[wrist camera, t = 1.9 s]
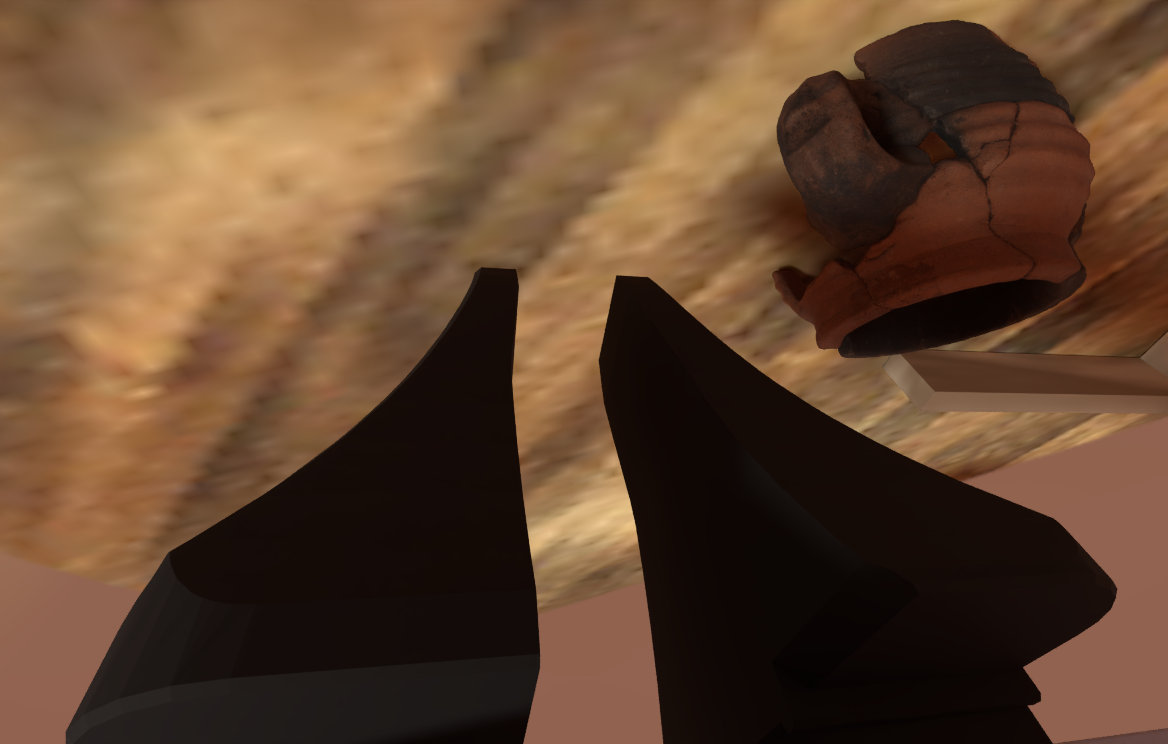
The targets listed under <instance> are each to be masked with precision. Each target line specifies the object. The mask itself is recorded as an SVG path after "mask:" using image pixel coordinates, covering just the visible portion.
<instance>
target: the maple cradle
mask: <svg viewBox="0 0 1168 744" xmlns="http://www.w3.org/2000/svg"><path fill="white" fill-rule="evenodd" d="M883 369H884V370H885V371H886V372H887V373H888V374H889V376H890V377H891V378H892V379H893V380H894V381H895V383H896V384H897V385H898V386H899V387H900V389H901V390H902V391H903V392H904V393H905V394H906V396H907V397H908V398H909V399H910V400H911V401H912V403H913V404H914V405H915V406H916V407H917V409H918V410H919V411H952V412H1047V413H1142V414H1168V332H1167V333H1166V334H1165V335H1164V336H1163V337H1162V338H1161V339H1159V340H1158V341H1157V342H1156V343H1155V344H1154V345H1153V346H1152V347H1151V348H1150V349H1149V350H1148V351H1147V352H1146V353H1145V354H1144V355H1142V356H1141V357H1140V358H1129V357H1102V356H1074V355H1046V354H1019V353H991V352H963V351H936V350H920V351H915V352H910V353H904V354H898V355H891V357H890V358H889V360H888V361H887V363H886V364H885V366H884V367H883Z"/></svg>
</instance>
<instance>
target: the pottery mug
mask: <svg viewBox="0 0 1168 744" xmlns="http://www.w3.org/2000/svg"><path fill="white" fill-rule="evenodd" d="M854 61H855V64H856V66H857V68H858V69H860V70H861V71H862V72H864V76H865V79H858V80H848V79H846V78H845V77H844V76H843V75H842V74H841V73H840V72H838V71H830V72H827V73H824V74H821V75H818V76H813V77H810V78H808V79H806V80H805V81H804V82H803V83H802V84H801V85H800V87H799V88H798V89H797V90H796V91H795V92H794V93H793V94H791V95H790V96H789V97H788V98H787V100H786V101H785V103H784V105H783V108H782V111H781V114H780V117H779V119H778V124H777V140H778V144H779V147H780V152H781V154H782V157H783V161H784V165H785V167H786V169H787V172H788V173H789V176H790V178H791V180H792V181H793V183H794V185H795V186H796V188H797V189H798V191H799V192H800V194H801V195H802V199H803V202H804V205H805V208H806V210H807V219H808V221H809V223H810V225H811V226H812V227H813V228H814V229H816V230H817V231H818V232H819V233H820V234H821V235H823V236H824V237H825V239H826V240H827V241H828V242H829V243H830V244H831V245H833V246H835V247H838V248H840V249H854V248H858V247H860V246H863V245H865V244H868V249H867V251H866V253H865V254H864V255H863V256H862V257H861V258H860V259H859V260H858V262H857V263H856V264H854V265H852V264H850V263H849V262H847V261H845V260H844V259H842V258H839V257H836V258H833V259H832V260H830V261H829V262H828V263H827V264H826V265H825V267H824V268H823V270H822V271H821V272H820V274H819V275H818V276H817V277H816V279H814V280H813V281H812V283H811V284H810V285H809V286H808V287H807V288H806V287H805V285H804V284H803V282H802V281H801V279H800V277H799V276H798V274H796V273H795V272H793V271H787V270H780V271H774V272H773V273H772V276H773V278H774V280H775V288H776V289H777V290H778V291H779V292H780V293H781V295H782V297H783V301H784V302H785V303H786V304H787V305H789V306H790V307H791V308H792V309H793V311H794V312H795V313H796V314H798V315H799V316H800V317H802V318H804V319H805V320H806V321H808V322H811V323H812V324H814V325H815V329H816V343H817V345H818V347H819V348H820V349H824V350H825V349H837V348H838V351H839V353H840V355H841V356H842V357H845V358H867V357H880V356H887V355H898V354H904V353H910V352H915V351H920V350H924V349H929V348H934V347H938V346H942V345H947V344H951V343H955V342H959V341H963V340H966V339H969V338H972V337H976V336H980V335H982V334H985V333H988V332H991V331H995V330H998V329H1002V328H1004V327H1007V326H1009V325H1012V324H1015V323H1018V322H1020V321H1022V320H1025V319H1027V318H1029V317H1033V316H1035V315H1037V314H1039V313H1041V312H1043V311H1046V310H1048V309H1050V308H1052V307H1054V306H1055V305H1057V304H1059V303H1060V302H1061V301H1063V300H1065V299H1067V298H1068V297H1070V296H1071V295H1072V294H1073V293H1074V292H1075V291H1076V290H1077V289H1078V288H1079V287H1081V285H1082V284H1083V283H1084V281H1085V279H1086V269H1085V267H1084V266H1083V264H1082V263H1081V261H1080V260H1079V258H1078V256H1077V254H1076V252H1075V250H1074V248H1073V245H1074V243H1075V242H1076V241H1077V239H1078V238H1079V237H1080V236H1081V234H1082V226H1083V223H1084V218H1085V208H1086V206H1087V204H1086V202H1087V200H1088V198H1089V195H1090V184H1091V182H1092V180H1093V178H1094V175H1095V170H1094V167H1093V164H1092V162H1091V161H1090V155H1089V154H1090V144H1089V142H1088V141H1087V139H1086V138H1085V137H1084V136H1083V135H1082V134H1081V133H1079V132H1078V131H1077V130H1076V128H1075V126H1074V125H1073V123H1074V121H1075V117H1074V116H1073V115H1072V114H1071V113H1070V111H1069V105H1068V102H1067V101H1066V99H1065V98H1064V97H1063V96H1061V95H1059V94H1057V92H1056V89H1055V86H1054V85H1053V83H1052V82H1051V81H1050V80H1048V79H1046V78H1044V77H1042V76H1041V74H1040V71H1039V69H1038V67H1037V65H1036V64H1035V63H1034V62H1033V61H1031V60H1029V59H1028V57H1027V56H1026V55H1025V54H1023V53H1021V52H1018V51H1016V50H1015V49H1013V48H1010V47H1009V46H1008V45H1006V44H1005V43H1004V42H1003V41H1002V40H1001V39H1000V38H999V36H997V35H996V34H995V33H994V32H992V31H991V30H988V29H987V28H986V27H985V26H983V25H980V24H976V23H971V22H964V21H959V20H951V21H944V22H929V23H923V24H920V25H915V26H910V27H908V28H905V29H902V30H900V31H898V32H896V33H895V34H892V35H888V36H886V37H884V38H881V39H879V40H877V41H875V42H873V43H871V44H869V45H867V46H865V47H863V48H862V49H860V50H858V51H857V52H856V53H855V56H854ZM930 132H936V133H937V134H938V136H939V137H940V138H941V139H943V140H944V141H945V142H946V143H947V145H948V146H949V147H950V148H952V149H953V150H954V151H955V153H956V154H957V158H954V159H943V160H941V161H939V162H937V163H935V164H932V163H931V160H930V157H929V155H928V154H927V153H926V152H925V151H923V150H922V149H920V148H917V147H918V146H919V145H920V143H921V142H922V141H923V139H924V138H926V137H927V135H928V134H929V133H930Z"/></svg>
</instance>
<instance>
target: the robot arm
mask: <svg viewBox="0 0 1168 744" xmlns="http://www.w3.org/2000/svg"><path fill="white" fill-rule="evenodd" d="M518 292H519V284H518V277H517V272H516V269H501V268H484V267H481V268H480V269H479V270H478V271H476V272H475V274H474V278H473V281H472V283H471V285H470V288H469V290H468V292H467V294H466V295H465V297H464V299H463V301H462V303H461V305H460V306H459V308H458V309H457V311H456V312H455V314H454V316H453V317H452V319H451V320H450V322H449V323H448V325H447V326H446V328H445V329H444V331H443V332H442V334H441V335H440V336H439V338H438V339H437V340H436V341H435V343H434V344H433V345H432V346H431V348H430V349H429V350H428V352H427V353H426V354H425V355H424V357H423V358H422V359H421V361H420V362H419V363H418V364H417V365H416V366H415V368H414V369H413V370H412V371H411V372H410V373H409V374H408V375H407V376H406V378H405V379H404V380H403V381H402V382H401V383H400V384H399V385H398V386H397V387H396V388H395V389H394V390H393V391H392V392H391V393H390V394H389V395H388V396H387V397H386V398H385V399H384V400H383V401H382V402H381V403H380V404H379V405H378V406H376V407H375V408H374V409H373V410H372V411H371V412H370V413H369V414H368V415H367V416H365V417H364V418H363V419H362V420H361V421H360V422H359V423H358V424H357V425H356V426H354V427H353V428H352V429H351V430H350V431H348V432H347V433H346V434H345V435H344V436H342V437H341V438H340V439H339V440H338V441H336V442H335V443H334V444H332V445H331V446H330V447H328V448H327V449H326V450H324V451H323V452H322V453H320V454H319V455H318V456H316V457H315V458H314V459H312V460H311V461H310V462H308V463H307V464H306V465H304V466H303V467H302V468H300V469H299V470H297V471H296V472H295V473H293V474H292V475H291V476H289V477H288V478H287V479H285V480H284V481H283V482H281V483H280V484H278V485H277V486H275V487H274V488H273V489H271V490H270V491H268V492H267V493H265V494H264V495H262V496H261V497H259V498H257V499H256V500H254V501H252V502H251V503H249V504H248V505H246V506H244V507H243V508H241V509H239V510H238V511H236V512H235V513H233V514H231V515H230V516H228V517H226V518H225V519H223V520H222V521H220V522H218V523H217V524H215V525H213V526H212V527H210V528H209V529H207V530H205V531H204V532H202V533H201V534H199V535H197V536H196V537H194V538H192V539H191V540H189V541H187V542H185V543H184V544H182V545H180V546H179V547H177V548H175V549H173V550H172V551H170V552H169V553H168V554H167V555H166V557H165V558H164V560H163V562H162V563H161V565H160V567H159V568H158V570H157V571H156V573H155V574H154V576H153V577H152V579H151V580H150V582H149V583H148V585H147V586H146V587H145V589H144V590H143V592H142V593H141V594H140V596H139V597H138V599H137V600H136V602H135V604H134V605H133V607H132V609H131V611H130V612H129V614H128V615H127V617H126V619H125V620H124V622H123V623H122V625H121V627H120V629H119V631H118V633H117V635H116V637H115V638H114V640H113V642H112V644H111V646H110V648H109V650H108V652H107V654H106V656H105V658H104V659H103V661H102V663H101V665H100V667H99V669H98V671H97V673H96V675H95V677H94V679H93V681H92V682H91V684H90V686H89V689H88V690H87V692H86V694H85V696H84V698H83V700H82V702H81V704H80V706H79V707H78V709H77V711H76V713H75V715H74V717H73V719H72V721H71V723H70V725H69V727H68V729H67V731H66V744H523V742H524V738H525V733H526V728H527V723H528V719H529V715H530V710H531V705H532V701H533V697H534V692H535V688H536V683H537V679H538V674H539V670H540V644H539V628H538V612H537V596H536V585H535V579H534V572H533V566H532V559H531V552H530V545H529V538H528V530H527V523H526V515H525V507H524V500H523V492H522V483H521V474H520V465H519V455H518V446H517V435H516V424H515V413H514V401H513V387H512V375H513V362H514V348H515V334H516V320H517V306H518ZM599 366H600V375H601V384H602V391H603V398H604V405H605V409H606V413H607V417H608V420H609V424H610V428H611V432H612V436H613V439H614V443H615V447H616V450H617V454H618V458H619V461H620V465H621V469H622V472H623V476H624V480H625V483H626V487H627V491H628V494H629V498H630V502H631V506H632V511H633V515H634V520H635V524H636V531H637V537H638V543H639V549H640V556H641V562H642V568H643V575H644V582H645V589H646V596H647V603H648V611H649V617H650V625H651V633H652V642H653V650H654V658H655V667H656V675H657V683H658V693H659V703H660V714H661V724H662V734H663V744H1053V743H1052V742H1051V740H1050V739H1049V737H1048V736H1047V734H1046V733H1045V731H1044V730H1043V728H1042V727H1041V725H1040V724H1039V722H1038V721H1037V719H1036V718H1035V717H1034V715H1033V713H1032V712H1031V711H1030V709H1029V707H1028V705H1034V704H1036V703H1038V702H1040V701H1041V693H1040V691H1039V690H1038V689H1037V687H1036V685H1035V684H1034V683H1033V681H1032V680H1031V678H1030V677H1029V675H1028V674H1027V673H1026V671H1025V670H1024V669H1023V667H1024V666H1026V665H1028V664H1029V663H1031V662H1033V661H1034V660H1036V659H1037V658H1039V657H1041V656H1043V655H1044V654H1046V653H1048V652H1050V651H1051V650H1053V649H1055V648H1057V647H1058V646H1060V645H1062V644H1063V643H1065V642H1067V641H1069V640H1070V639H1072V638H1074V637H1075V636H1077V635H1079V634H1080V633H1082V632H1083V631H1085V630H1086V629H1088V628H1089V627H1091V626H1092V625H1094V624H1095V623H1097V622H1098V621H1099V620H1100V619H1101V618H1102V617H1103V616H1104V615H1105V614H1106V613H1107V612H1108V611H1109V610H1111V608H1112V605H1113V603H1114V601H1115V598H1116V593H1117V588H1116V586H1115V584H1114V582H1113V581H1112V579H1111V578H1110V577H1109V576H1108V575H1107V574H1106V573H1105V572H1104V570H1103V569H1102V568H1101V567H1100V566H1099V565H1098V564H1097V563H1096V562H1095V561H1094V560H1093V559H1092V558H1091V556H1090V555H1089V554H1088V553H1087V552H1086V551H1085V550H1084V549H1083V548H1082V546H1081V545H1080V544H1079V543H1078V542H1077V541H1076V540H1075V539H1074V538H1073V537H1072V536H1071V535H1070V533H1069V532H1067V531H1066V529H1065V528H1064V527H1063V526H1062V525H1061V524H1060V523H1058V522H1057V521H1056V520H1055V519H1053V518H1051V517H1048V516H1046V515H1044V514H1041V513H1038V512H1036V511H1033V510H1031V509H1028V508H1026V507H1023V506H1021V505H1018V504H1016V503H1013V502H1011V501H1008V500H1006V499H1003V498H1001V497H998V496H996V495H993V494H990V493H988V492H986V491H983V490H981V489H978V488H975V487H973V486H970V485H968V484H965V483H963V482H961V481H958V480H956V479H954V478H951V477H949V476H947V475H945V474H943V473H940V472H938V471H936V470H934V469H932V468H930V467H927V466H925V465H923V464H921V463H919V462H916V461H914V460H912V459H910V458H908V457H906V456H903V455H901V454H899V453H897V452H895V451H893V450H891V449H889V448H887V447H885V446H883V445H881V444H879V443H877V442H875V441H873V440H872V439H870V438H868V437H866V436H864V435H862V434H861V433H859V432H857V431H855V430H853V429H851V428H850V427H848V426H846V425H844V424H842V423H841V422H839V421H837V420H835V419H833V418H831V417H830V416H828V415H826V414H825V413H823V412H821V411H820V410H818V409H816V408H815V407H813V406H811V405H810V404H808V403H807V402H805V401H804V400H802V399H800V398H799V397H797V396H796V395H794V394H793V393H791V392H790V391H788V390H787V389H785V388H784V387H782V386H781V385H779V384H778V383H776V382H775V381H773V380H772V379H770V378H769V377H768V376H766V375H765V374H763V373H762V372H761V371H759V370H758V369H757V368H755V367H754V366H753V365H751V364H750V363H749V362H747V361H746V360H745V359H744V358H742V357H741V356H740V355H738V354H737V353H736V352H734V351H733V350H732V349H731V348H730V347H728V346H727V345H726V344H725V343H723V342H722V341H721V340H720V339H719V338H717V337H716V336H715V335H714V334H713V333H712V332H710V331H709V330H708V329H707V328H706V327H705V326H703V325H702V324H701V323H700V322H699V321H698V320H697V319H695V318H694V317H693V316H692V315H691V314H690V313H689V312H688V311H687V310H685V309H684V308H683V307H682V306H681V305H680V304H679V303H678V302H677V301H675V300H674V299H673V298H672V297H671V296H670V295H669V294H668V293H666V292H665V291H664V290H663V289H662V288H661V287H660V286H658V285H657V284H656V283H655V282H654V281H652V280H651V279H650V278H648V277H635V276H618V275H616V280H615V285H614V290H613V294H612V299H611V304H610V309H609V314H608V318H607V323H606V328H605V333H604V338H603V343H602V347H601V352H600V357H599ZM1055 744H1168V728H1166V729H1158V730H1150V731H1143V732H1136V733H1129V734H1121V735H1114V736H1106V737H1099V738H1092V739H1084V740H1077V741H1070V742H1062V743H1055Z"/></svg>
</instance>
